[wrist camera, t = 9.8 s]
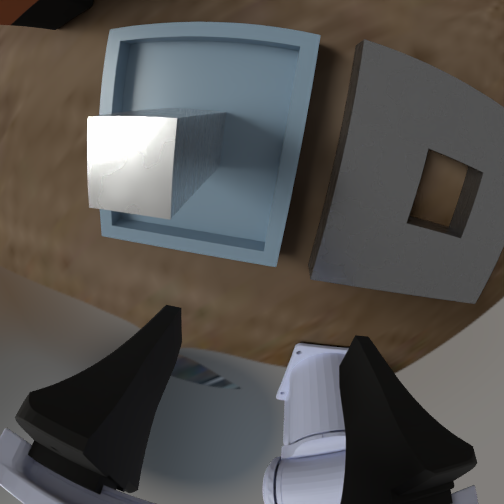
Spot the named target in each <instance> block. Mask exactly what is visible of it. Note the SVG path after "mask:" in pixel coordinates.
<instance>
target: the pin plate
mask: <svg viewBox="0 0 504 504" xmlns="http://www.w3.org/2000/svg"><path fill="white" fill-rule="evenodd" d="M428 149H431V150H433V151H436V152H438V153H441V154H443V155H446V156H448V157H450V158H453V159H455V160H457V161H459V162H462V163H464V164H466V165H468V166H469V167H468V170H467V174H466V177H465V181H464V184H463V188H462V191H461V194H460V197H459V200H458V203H457V206H456V209H455V212H454V215H453V218H452V220H451V223H450V226H449V227H447V226H443V225H440V224H437V223H433V222H430V221H426V220H423V219H419V218H415V217H412V216H409V214H410V211H411V208H412V205H413V202H414V199H415V195H416V192H417V189H418V186H419V182H420V179H421V175H422V172H423V168H424V164H425V160H426V156H427V152H428ZM503 247H504V107H502V106H501V105H500V104H498V103H497V102H495V101H494V100H492V99H491V98H489V97H487V96H486V95H484V94H483V93H481V92H479V91H478V90H476V89H474V88H473V87H471V86H469V85H468V84H466V83H464V82H462V81H461V80H459V79H457V78H455V77H453V76H451V75H449V74H447V73H446V72H444V71H442V70H440V69H437V68H435V67H433V66H431V65H429V64H427V63H425V62H423V61H420V60H418V59H416V58H413V57H411V56H409V55H406V54H404V53H401V52H399V51H396V50H393V49H391V48H388V47H385V46H382V45H380V44H377V43H374V42H371V41H368V40H363V41H361V42H360V43H359V44H357V45H356V48H355V55H354V61H353V67H352V73H351V79H350V85H349V91H348V96H347V102H346V107H345V112H344V117H343V122H342V127H341V132H340V137H339V142H338V147H337V151H336V156H335V160H334V165H333V169H332V174H331V178H330V182H329V186H328V191H327V195H326V199H325V203H324V207H323V211H322V215H321V219H320V223H319V227H318V230H317V234H316V238H315V242H314V245H313V249H312V253H311V256H310V260H309V264H308V266H309V273H310V279H312V280H318V281H324V282H331V283H337V284H343V285H350V286H356V287H362V288H369V289H375V290H382V291H389V292H395V293H402V294H409V295H416V296H422V297H429V298H437V299H444V300H451V301H458V302H465V303H473V304H475V303H476V301H477V299H478V298H479V296H480V294H481V292H482V290H483V288H484V287H485V285H486V283H487V281H488V279H489V277H490V275H491V273H492V271H493V269H494V267H495V264H496V262H497V260H498V258H499V256H500V254H501V251H502V249H503Z"/></svg>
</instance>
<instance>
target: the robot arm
mask: <svg viewBox="0 0 504 504" xmlns="http://www.w3.org/2000/svg"><path fill="white" fill-rule="evenodd" d="M181 343H182V330H181V308H179V307H174V306H170V305H166V306H164V307H163V308H162V309H161V310H160V311H159V312H158V313H157V314H156V315H155V316H154V317H153V318H152V319H151V320H150V321H149V322H148V323H147V324H146V325H145V326H144V327H143V328H142V329H140V330H139V331H138V332H137V333H136V334H135V335H134V336H133V337H131V338H130V339H129V340H128V341H126V342H125V343H124V344H123V345H121V346H120V347H119V348H118V349H117V350H115V351H114V352H112V353H111V354H110V355H108V356H107V357H105V358H104V359H102V360H101V361H99V362H98V363H96V364H94V365H93V366H91V367H89V368H87V369H86V370H84V371H82V372H80V373H78V374H76V375H74V376H72V377H70V378H68V379H65V380H64V381H61V382H59V383H56V384H54V385H51V386H48V387H45V388H42V389H39V390H36V391H32V392H30V393H29V395H28V396H27V397H26V399H25V401H24V402H23V404H22V406H21V408H20V409H19V411H18V413H17V415H16V417H15V419H16V421H17V422H18V424H19V425H20V426H21V427H22V428H23V429H24V430H25V431H26V432H27V433H28V434H29V435H30V436H31V437H32V438H33V439H34V442H33V444H32V445H31V444H29V443H28V442H27V441H25V440H24V439H23V438H21V437H20V436H18V435H17V434H15V433H14V432H12V431H11V430H10V429H8V428H5V429H4V431H3V433H2V435H1V436H0V485H1V486H2V487H3V488H4V489H5V490H7V491H8V492H9V493H10V494H12V495H13V496H14V497H16V498H17V499H18V500H19V501H21V502H22V503H23V504H155V503H152V502H149V501H146V500H142V499H139V498H136V497H133V496H130V495H128V494H125V493H122V492H120V491H117V490H116V489H118V490H121V491H123V492H124V491H126V492H128V493H132V492H135V491H137V490H138V486H139V480H140V474H141V468H142V464H143V459H144V455H145V449H146V446H147V442H148V438H149V434H150V430H151V426H152V423H153V419H154V416H155V412H156V410H157V407H158V404H159V402H160V399H161V397H162V395H163V392H164V390H165V388H166V385H167V383H168V380H169V378H170V376H171V373H172V371H173V369H174V366H175V364H176V361H177V357H178V354H179V350H180V347H181ZM298 351H300V352H298ZM276 398H277V399H279V400H285V405H284V406H285V407H284V436H283V442H284V446H282V451H281V453H282V454H281V456H280V457H275V458H274V459H273V460H272V461H271V463H270V464H269V465H268V467H267V469H266V471H265V474H264V479H263V499H264V504H478V499H477V494H476V489H475V486H474V485H472V486H470V487H467V488H465V489H462V490H460V491H457V492H455V493H453V494H451V490H450V489H452V488H454V482H453V481H454V480H456V479H457V478H459V477H461V476H462V475H464V474H465V473H467V472H468V471H470V470H471V469H473V468H474V467H475V465H476V464H477V460H476V457H475V452H474V449H473V446H471V445H470V444H468V443H466V442H465V441H463V440H462V439H460V438H458V437H457V436H455V435H454V434H452V433H451V432H450V431H449V430H447V429H446V428H445V427H443V426H442V425H441V424H440V423H439V422H437V421H436V420H435V419H434V418H433V417H432V416H431V415H429V413H428V412H427V411H426V410H424V409H423V408H422V406H421V405H420V404H419V403H418V402H417V401H416V400H415V399H414V398H413V397H412V395H411V394H410V393H409V392H408V391H407V389H406V388H405V387H404V386H403V384H402V383H401V382H400V381H399V379H398V378H397V377H396V375H395V374H394V372H393V371H392V370H391V368H390V367H389V365H388V364H387V363H386V361H385V360H384V358H383V357H382V355H381V354H380V352H379V351H378V350H377V348H376V347H375V345H374V344H373V342H372V341H371V340H370V338H369V337H366V336H356V335H355V337H354V339H353V341H352V343H351V345H350V347H349V348H341V347H332V346H322V345H314V344H306V343H298V344H296V345H295V348H294V350H293V353H292V356H291V359H290V361H289V364H288V366H287V369H286V372H285V374H284V377H283V379H282V382H281V385H280V387H279V389H278V392H277V394H276Z"/></svg>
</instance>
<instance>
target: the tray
mask: <svg viewBox="0 0 504 504" xmlns="http://www.w3.org/2000/svg"><path fill="white" fill-rule="evenodd" d="M319 42H320V35H317V34H312V33H307V32H302V31H297V30H291V29H285V28H278V27H271V26H263V25H253V24H242V23H226V22H174V23H158V24H147V25H137V26H129V27H122V28H116V29H110V32H109V37H108V43H107V49H106V56H105V62H104V70H103V78H102V88H101V99H100V113H99V115H104V114H111V113H119V112H127V111H137V110H147V109H160V108H185V109H199V110H211V111H221V112H226V119H225V127H224V134H223V142H222V149H221V157H220V166H219V168H218V169H217V170H216V171H215V172H214V173H213V174H212V175H211V176H210V177H209V178H208V179H207V180H206V181H205V182H204V183H203V185H202V186H201V187H200V188H199V189H198V190H197V191H196V192H195V193H194V194H193V195H192V196H191V197H190V199H189V200H188V201H187V202H186V203H185V204H184V205H183V206H182V207H181V208H180V210H179V211H178V212H177V213H176V214H175V215H174V216H173V217H172V219H171V220H169V219H163V218H156V217H150V216H143V215H137V214H130V213H124V212H117V211H111V210H104V209H100V218H101V230H102V236H105V237H111V238H116V239H121V240H127V241H132V242H138V243H143V244H148V245H154V246H159V247H165V248H170V249H176V250H181V251H187V252H193V253H198V254H204V255H209V256H215V257H221V258H226V259H232V260H238V261H244V262H249V263H255V264H261V265H267V266H273V267H276V266H277V261H278V256H279V252H280V247H281V243H282V238H283V233H284V229H285V224H286V219H287V214H288V210H289V205H290V200H291V195H292V190H293V185H294V180H295V175H296V170H297V165H298V160H299V155H300V150H301V144H302V139H303V134H304V128H305V123H306V118H307V112H308V107H309V101H310V95H311V90H312V84H313V78H314V72H315V66H316V60H317V54H318V48H319Z"/></svg>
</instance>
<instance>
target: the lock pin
mask: <svg viewBox="0 0 504 504" xmlns="http://www.w3.org/2000/svg"><path fill="white" fill-rule="evenodd" d="M225 119H226V112H221V111H211V110H199V109H185V108H160V109H147V110H137V111H127V112H119V113H111V114H104V115H98V116H92V117H88V133H87V172H88V195H89V207H90V208H97V209H104V210H111V211H117V212H124V213H130V214H137V215H143V216H150V217H156V218H163V219H169V220H171V219H172V217H173V216H174V215H175V214H176V213H177V212H178V211H179V210H180V208H181V207H182V206H183V205H184V204H185V203H186V202H187V201H188V200H189V199H190V197H191V196H192V195H193V194H194V193H195V192H196V191H197V190H198V189H199V188H200V187H201V186H202V185H203V183H204V182H205V181H206V180H207V179H208V178H209V177H210V176H211V175H212V174H213V173H214V172H215V171H216V170H217V169H218V168H219V166H220V157H221V149H222V142H223V134H224V127H225Z"/></svg>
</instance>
